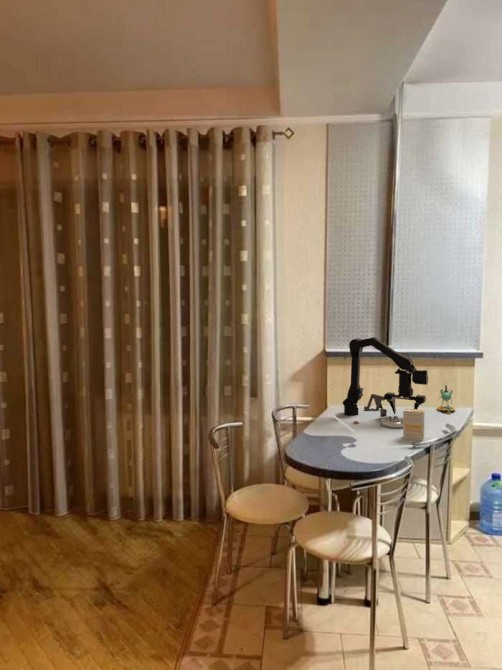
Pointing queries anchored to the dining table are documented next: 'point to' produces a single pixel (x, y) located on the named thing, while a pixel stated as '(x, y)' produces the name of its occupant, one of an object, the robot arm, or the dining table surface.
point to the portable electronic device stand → (377, 402)
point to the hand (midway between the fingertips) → (404, 415)
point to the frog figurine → (446, 397)
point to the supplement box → (413, 424)
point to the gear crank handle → (390, 420)
